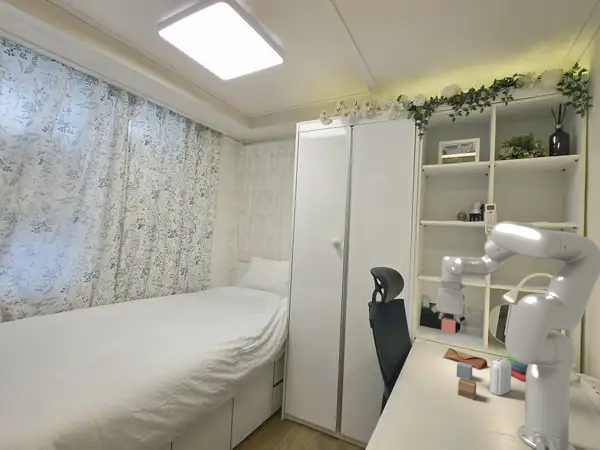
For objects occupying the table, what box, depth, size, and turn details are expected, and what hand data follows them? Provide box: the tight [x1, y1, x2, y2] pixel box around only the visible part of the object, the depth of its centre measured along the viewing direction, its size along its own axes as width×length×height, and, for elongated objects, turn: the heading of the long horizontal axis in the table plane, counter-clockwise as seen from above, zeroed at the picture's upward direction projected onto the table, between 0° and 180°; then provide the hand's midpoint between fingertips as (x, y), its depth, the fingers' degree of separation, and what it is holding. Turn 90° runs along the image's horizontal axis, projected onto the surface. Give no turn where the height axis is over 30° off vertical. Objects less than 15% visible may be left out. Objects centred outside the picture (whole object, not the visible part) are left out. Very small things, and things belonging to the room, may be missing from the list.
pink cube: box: [440, 317, 457, 335], centre depth 121 cm, size 5×5×5 cm
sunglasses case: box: [442, 347, 488, 371], centre depth 142 cm, size 18×7×7 cm
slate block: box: [456, 362, 473, 380], centre depth 124 cm, size 5×5×5 cm
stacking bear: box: [507, 354, 528, 383], centre depth 130 cm, size 11×10×18 cm
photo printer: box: [489, 357, 512, 396], centre depth 113 cm, size 10×4×12 cm, turn 123°
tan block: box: [457, 377, 477, 401], centre depth 108 cm, size 5×5×5 cm
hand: (449, 329), depth 121 cm, fingers closed on pink cube, 4 cm apart
